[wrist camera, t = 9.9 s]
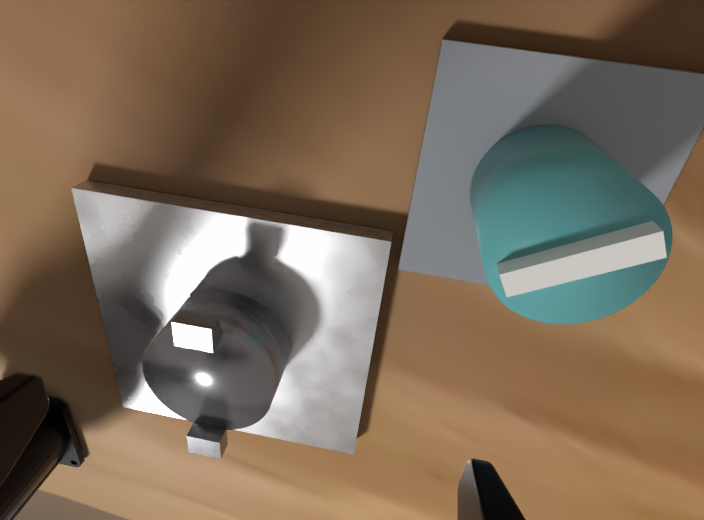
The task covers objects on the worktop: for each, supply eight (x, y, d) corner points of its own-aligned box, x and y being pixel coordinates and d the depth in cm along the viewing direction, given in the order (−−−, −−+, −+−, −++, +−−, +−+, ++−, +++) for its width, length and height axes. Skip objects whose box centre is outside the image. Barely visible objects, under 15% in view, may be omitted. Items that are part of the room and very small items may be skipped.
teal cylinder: (489, 260, 18) (510, 352, 13) (453, 154, 16) (463, 217, 11) (616, 224, 17) (692, 314, 12) (593, 102, 15) (673, 150, 10)
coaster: (605, 298, 19) (610, 306, 18) (399, 262, 20) (398, 269, 19) (718, 74, 14) (729, 77, 14) (442, 38, 15) (442, 39, 14)
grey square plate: (356, 439, 26) (342, 520, 22) (132, 394, 27) (80, 464, 23) (393, 230, 19) (383, 294, 15) (86, 180, 20) (-3, 226, 16)
